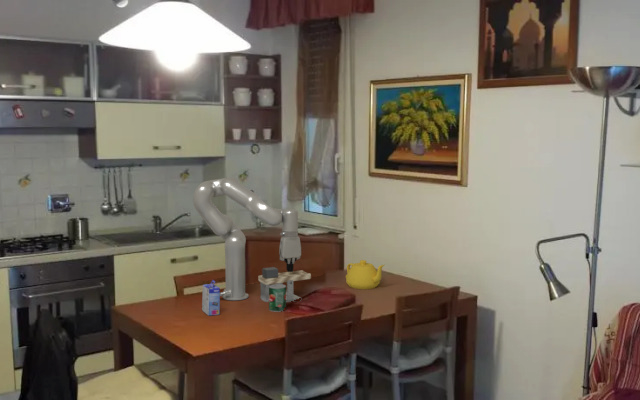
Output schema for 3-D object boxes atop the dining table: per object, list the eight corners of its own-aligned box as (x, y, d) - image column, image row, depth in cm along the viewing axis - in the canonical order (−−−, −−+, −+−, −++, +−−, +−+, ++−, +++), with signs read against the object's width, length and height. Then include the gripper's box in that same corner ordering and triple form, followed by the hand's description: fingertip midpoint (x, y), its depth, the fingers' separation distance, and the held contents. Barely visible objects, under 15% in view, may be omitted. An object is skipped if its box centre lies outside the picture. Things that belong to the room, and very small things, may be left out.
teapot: (393, 287, 343) (394, 261, 342) (373, 293, 330) (374, 266, 328) (355, 279, 359) (356, 255, 358) (335, 285, 346) (335, 260, 344)
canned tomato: (289, 309, 299) (289, 285, 298) (277, 312, 293) (277, 289, 292) (277, 306, 304) (277, 283, 303) (265, 309, 299) (265, 286, 298)
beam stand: (270, 304, 307) (270, 283, 306) (256, 296, 321) (256, 276, 320) (301, 300, 315) (301, 280, 314) (286, 292, 329) (286, 273, 328)
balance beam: (265, 284, 309) (265, 279, 309) (258, 280, 317) (258, 275, 316) (310, 278, 320) (310, 273, 320) (302, 275, 328) (302, 270, 328)
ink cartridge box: (220, 314, 290) (220, 282, 288) (208, 316, 287) (208, 284, 286) (213, 309, 298) (213, 278, 297) (201, 310, 296) (201, 279, 294)
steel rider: (266, 280, 310) (266, 270, 310) (262, 278, 315) (262, 268, 314) (278, 279, 313) (278, 268, 313) (273, 277, 318) (273, 267, 317)
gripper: (279, 236, 311) (279, 274, 313) (307, 234, 318) (307, 271, 320) (272, 234, 317) (272, 271, 319) (300, 232, 324) (300, 268, 326)
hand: (289, 271), depth 319 cm, fingers closed
